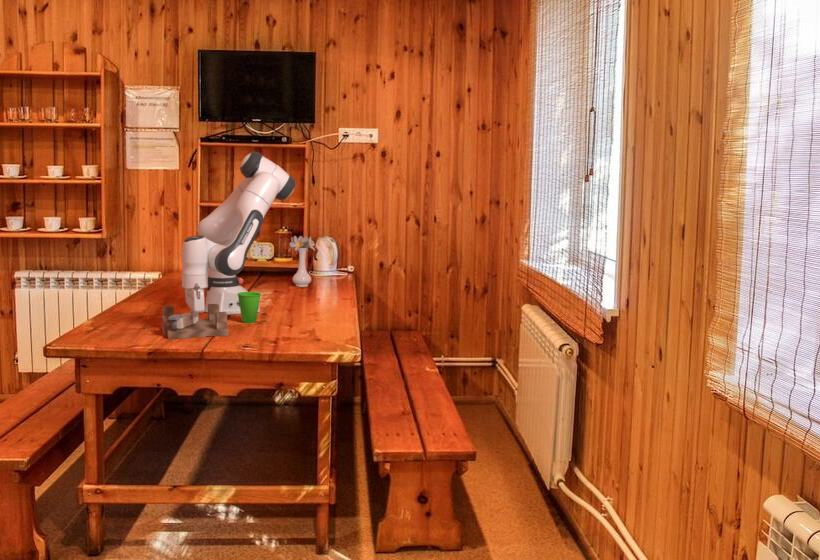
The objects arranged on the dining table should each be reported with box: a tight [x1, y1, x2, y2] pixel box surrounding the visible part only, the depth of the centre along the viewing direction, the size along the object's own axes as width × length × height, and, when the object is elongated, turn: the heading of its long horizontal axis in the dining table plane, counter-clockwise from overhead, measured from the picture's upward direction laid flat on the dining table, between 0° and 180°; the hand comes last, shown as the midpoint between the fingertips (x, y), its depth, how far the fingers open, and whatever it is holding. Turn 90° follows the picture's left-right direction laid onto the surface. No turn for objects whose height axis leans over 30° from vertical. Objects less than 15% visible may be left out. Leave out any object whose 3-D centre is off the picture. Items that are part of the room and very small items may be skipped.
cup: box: [237, 291, 262, 324], centre depth 302 cm, size 9×9×11 cm
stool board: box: [161, 304, 229, 340], centre depth 283 cm, size 21×20×8 cm
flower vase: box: [288, 235, 316, 288], centre depth 393 cm, size 13×18×25 cm
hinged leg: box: [168, 311, 196, 329], centre depth 278 cm, size 15×4×5 cm, turn 170°
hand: (195, 320), depth 281 cm, fingers closed
